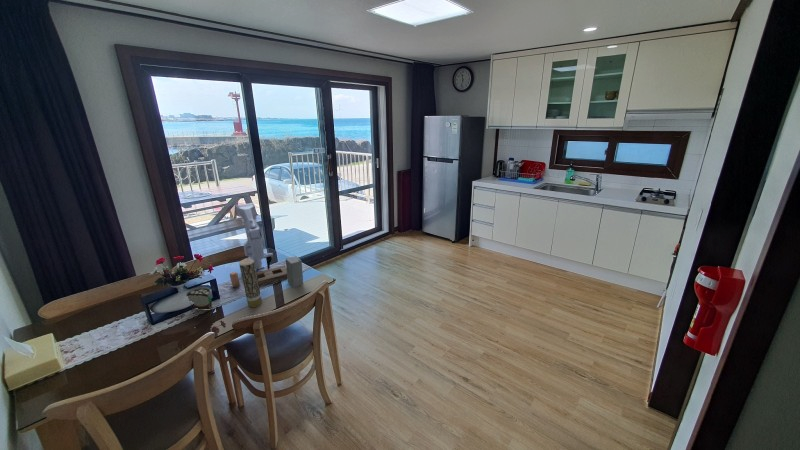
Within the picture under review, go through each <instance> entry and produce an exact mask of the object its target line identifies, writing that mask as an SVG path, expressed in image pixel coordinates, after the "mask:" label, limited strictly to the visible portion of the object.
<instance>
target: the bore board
mask: <svg viewBox="0 0 800 450" xmlns="http://www.w3.org/2000/svg"><path fill="white" fill-rule="evenodd" d="M256 273H257V278H258V283H259V287H260V286H264V285H268V284H271V283H274V282H278V281H281V280H286V279H287V268H286V264H284V265H280V266H276V267H273V268H269V270H268V269H265V270H261V271H256Z"/></svg>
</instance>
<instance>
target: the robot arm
mask: <svg viewBox="0 0 800 450" xmlns="http://www.w3.org/2000/svg"><path fill="white" fill-rule="evenodd" d="M255 206H256V205H255V203H254V202H250V203H241V204H236V206H235V208H236V214H237V216H238V217H241V218H242V220H243V224H244V230H245V235H246V239H247V240H246V241H245V242H244V244H243V250H244V255H245V256H246V258H244V259H254V263H255V268H256V270H260V269H264V268H265V266H264V264H263V262H262V260H263V259H266V260H265V261H266V267H267V270H269V269H271V268H270V267H271V262H272V258H273V257H274V254H273V252H265V253H264V247H263V241H262V238H263V236H262V235H263V234H262V230H261V228H260V226H259V225H258V222H257V220H256V219H255V218H254V217H253V216H254V215H255V213H256V210H257V209H256V207H255Z"/></svg>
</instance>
